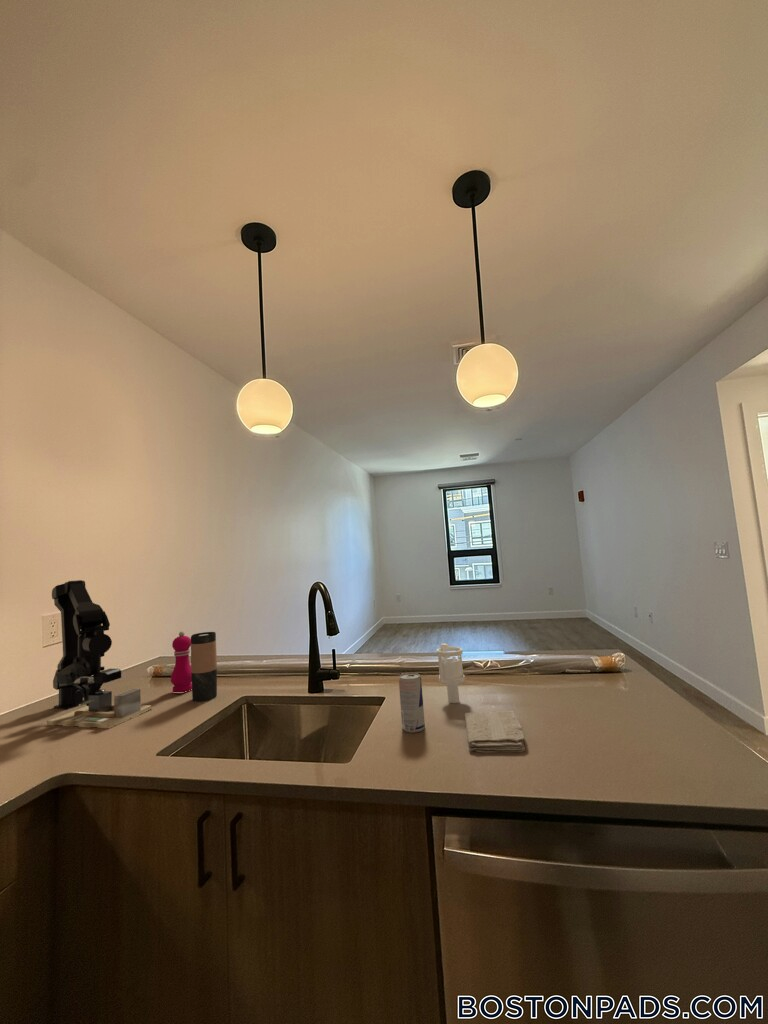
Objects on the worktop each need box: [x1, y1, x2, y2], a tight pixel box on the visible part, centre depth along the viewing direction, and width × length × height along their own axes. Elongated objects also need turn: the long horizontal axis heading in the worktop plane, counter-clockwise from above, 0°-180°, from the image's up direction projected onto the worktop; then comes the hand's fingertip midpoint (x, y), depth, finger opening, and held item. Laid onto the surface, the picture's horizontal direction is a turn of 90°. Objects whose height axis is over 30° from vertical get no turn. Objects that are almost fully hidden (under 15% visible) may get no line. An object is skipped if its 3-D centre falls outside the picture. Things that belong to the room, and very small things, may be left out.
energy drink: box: [398, 672, 426, 734], centre depth 100 cm, size 5×5×12 cm
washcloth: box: [464, 710, 526, 753], centre depth 93 cm, size 12×18×3 cm, turn 173°
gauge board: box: [46, 688, 153, 729], centre depth 123 cm, size 23×14×7 cm, turn 73°
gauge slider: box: [78, 688, 113, 712], centre depth 122 cm, size 4×8×6 cm, turn 163°
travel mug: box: [190, 631, 218, 703], centre depth 135 cm, size 8×8×20 cm
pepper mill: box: [170, 630, 192, 693], centre depth 145 cm, size 7×7×20 cm
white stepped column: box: [436, 643, 466, 704], centre depth 116 cm, size 7×7×15 cm
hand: (89, 705), depth 124 cm, fingers closed
